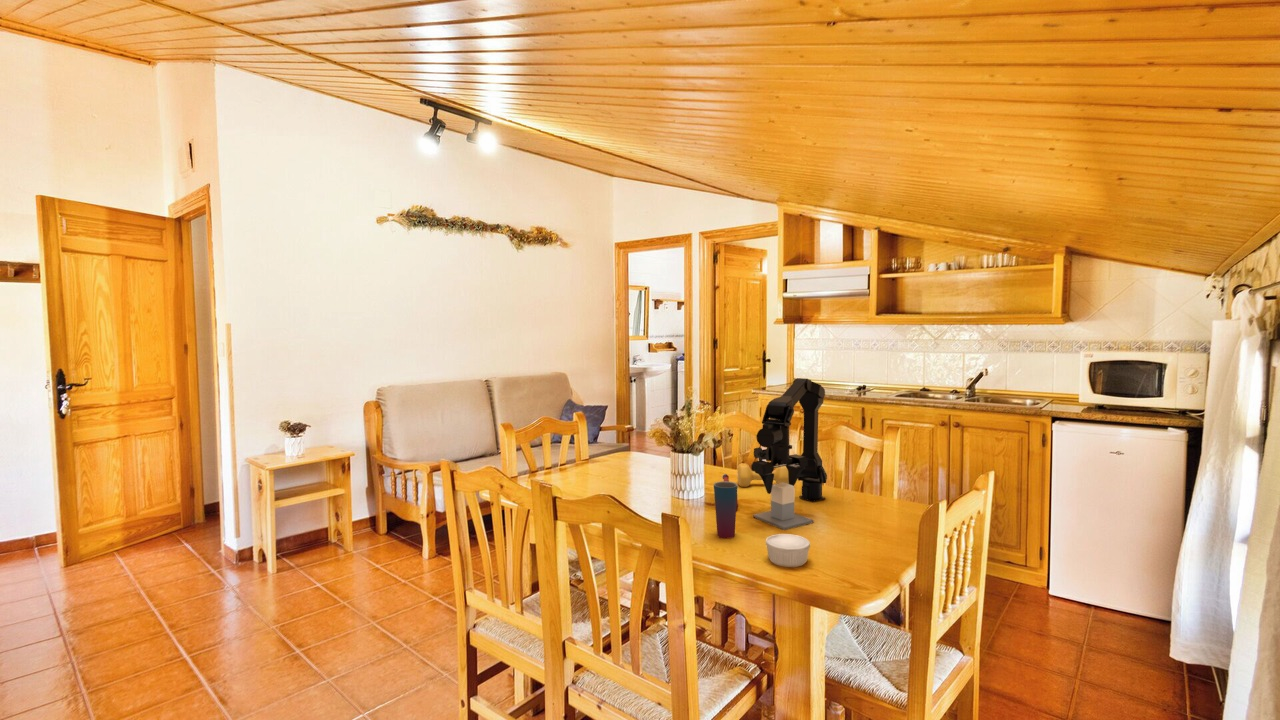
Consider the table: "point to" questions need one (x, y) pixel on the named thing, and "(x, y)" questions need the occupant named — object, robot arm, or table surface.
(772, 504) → the slate block
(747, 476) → the dumbbell
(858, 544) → the table surface
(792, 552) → the ramekin
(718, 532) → the cup
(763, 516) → the baseplate
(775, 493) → the cream block
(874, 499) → the table surface
